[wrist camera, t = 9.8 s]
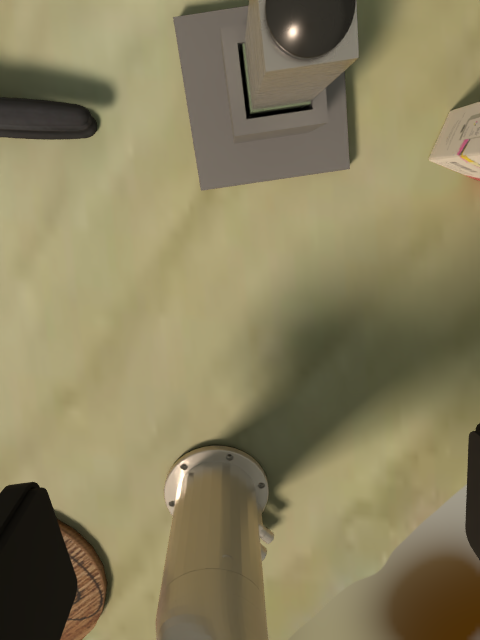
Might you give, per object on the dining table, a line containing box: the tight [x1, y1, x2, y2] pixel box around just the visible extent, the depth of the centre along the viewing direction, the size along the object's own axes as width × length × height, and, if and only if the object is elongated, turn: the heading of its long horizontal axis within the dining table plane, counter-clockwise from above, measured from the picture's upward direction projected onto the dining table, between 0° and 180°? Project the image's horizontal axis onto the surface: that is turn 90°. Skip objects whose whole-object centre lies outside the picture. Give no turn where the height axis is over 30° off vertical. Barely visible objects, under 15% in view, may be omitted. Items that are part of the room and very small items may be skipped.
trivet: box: [57, 519, 107, 640], centre depth 57 cm, size 25×25×2 cm
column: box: [242, 0, 359, 117], centre depth 25 cm, size 4×4×17 cm
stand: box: [173, 6, 350, 190], centre depth 34 cm, size 14×14×11 cm
